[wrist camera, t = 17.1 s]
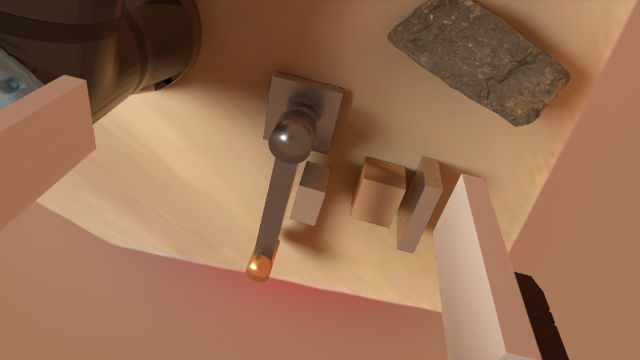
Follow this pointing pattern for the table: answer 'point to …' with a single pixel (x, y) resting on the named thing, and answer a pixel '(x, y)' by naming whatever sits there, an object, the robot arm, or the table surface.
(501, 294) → the robot arm
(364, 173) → the tan cardboard box
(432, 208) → the grey piece
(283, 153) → the lever
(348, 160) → the table surface
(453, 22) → the rock
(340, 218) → the table surface
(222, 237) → the table surface
